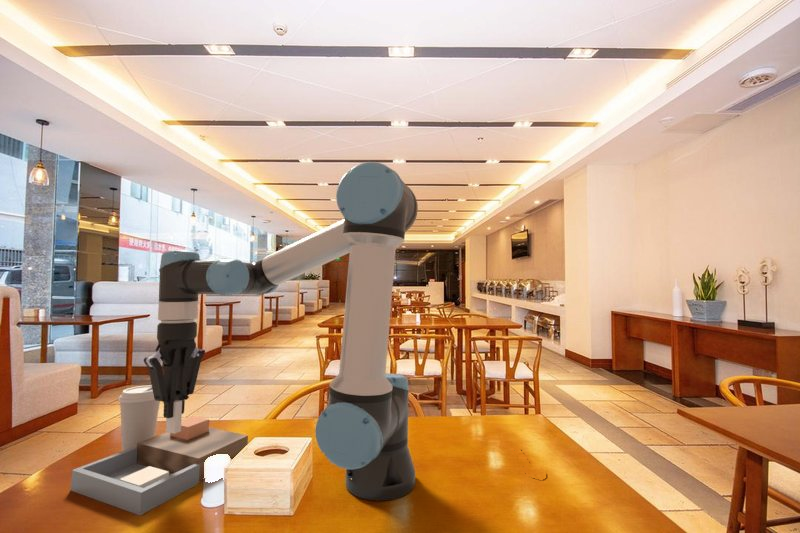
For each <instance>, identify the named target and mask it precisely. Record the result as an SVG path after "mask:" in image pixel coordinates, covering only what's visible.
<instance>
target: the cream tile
mask: <svg viewBox="0 0 800 533" xmlns="http://www.w3.org/2000/svg"><path fill="white" fill-rule="evenodd" d="M168 476H169V472H168V471H165V470H162V469H158V468H155V467H151V466H149V467H146V468H144V469H142V470H139V471H137V472H135V473H132V474H130V475H128V476H125V477H123V478H121V479H119V480H120V481H123V482H126V483H129V484H132V485H135V486H139V487H142V488H145V487H147V486H149V485H151V484H153V483H155V482H157V481H159V480H161V479H164V478H166V477H168Z"/></svg>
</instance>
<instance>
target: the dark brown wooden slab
mask: <svg viewBox="0 0 800 533" xmlns="http://www.w3.org/2000/svg"><path fill="white" fill-rule="evenodd" d="M248 435H249V434H243V433H239V432H233V431H229V430H225V429H224V430H223V429H219V428H215V427H210V426H209V431H208V432H206V433H203V434H201V435H198V436H196V437H193V438H191V439H188V440H186V439H182V438H177V437H173V436H170V433H169V432H166V431H165V432H164V433H161V434H158V435H155V436H154V437H152V438H149V439H146V440H144V441H141V442H138V443H137V464H140V465H143V466H147V467H149V466H151V467H155V468H158V469H162V470H165V471H168V472H169V473H171V474H174V473H176V472H178V471H180V470H182V469H185V468H187V467H189V466H191V465H193V464H195V463H197V464H200V468H199V483H200V482H202V481H204V480H203V478H204V462H205V460H206V459H207V458H208V457H210V456H213V455H216V454H228V455H229V456H230V458H231V459H233V458H234V457H235V456H236V455H237V454H238V453H239V452H240V451H241V450H242V449H243V448H244V447H245V446H246V445H247V444H248V445H249V443H248V442H249V436H248Z"/></svg>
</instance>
